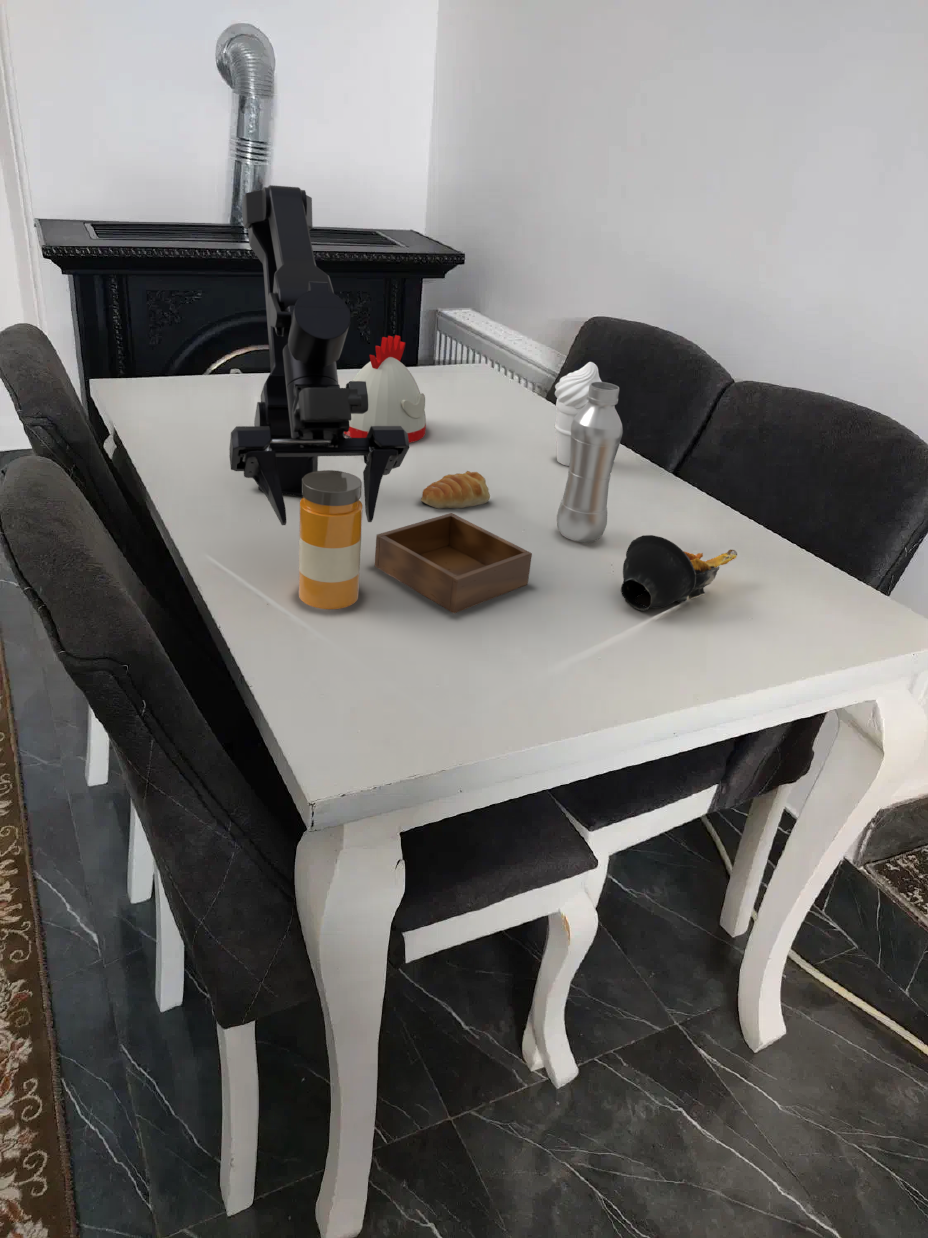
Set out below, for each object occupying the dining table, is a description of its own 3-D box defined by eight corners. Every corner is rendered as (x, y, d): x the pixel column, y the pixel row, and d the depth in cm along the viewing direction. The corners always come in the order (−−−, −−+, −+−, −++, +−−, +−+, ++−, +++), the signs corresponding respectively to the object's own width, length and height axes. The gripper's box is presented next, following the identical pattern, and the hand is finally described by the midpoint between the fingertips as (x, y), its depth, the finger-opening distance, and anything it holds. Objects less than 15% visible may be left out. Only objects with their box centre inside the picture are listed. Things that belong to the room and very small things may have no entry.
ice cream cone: (537, 463, 144) (552, 361, 136) (553, 449, 150) (567, 350, 143) (588, 475, 141) (606, 371, 133) (602, 460, 148) (620, 360, 140)
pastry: (439, 517, 122) (441, 490, 120) (409, 499, 126) (411, 473, 124) (493, 504, 127) (496, 478, 125) (462, 488, 132) (465, 463, 130)
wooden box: (374, 568, 107) (376, 534, 105) (448, 545, 114) (451, 512, 112) (453, 616, 99) (457, 580, 97) (527, 587, 107) (532, 553, 104)
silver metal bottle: (572, 551, 117) (598, 395, 107) (544, 529, 122) (567, 379, 112) (613, 545, 119) (643, 393, 110) (584, 524, 124) (610, 377, 115)
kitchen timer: (441, 431, 153) (449, 339, 145) (392, 450, 142) (398, 352, 135) (374, 411, 159) (378, 322, 151) (322, 428, 148) (324, 333, 141)
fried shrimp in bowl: (589, 562, 103) (670, 479, 112) (622, 640, 108) (696, 555, 117) (658, 564, 96) (737, 476, 106) (689, 647, 101) (762, 556, 110)
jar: (294, 585, 102) (295, 469, 95) (352, 582, 103) (357, 468, 97) (303, 614, 96) (304, 493, 90) (363, 610, 98) (369, 492, 92)
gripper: (228, 348, 91) (242, 496, 87) (411, 352, 96) (431, 491, 93) (224, 401, 101) (236, 535, 98) (389, 402, 107) (406, 529, 103)
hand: (327, 522), depth 98 cm, fingers open, 9 cm apart
